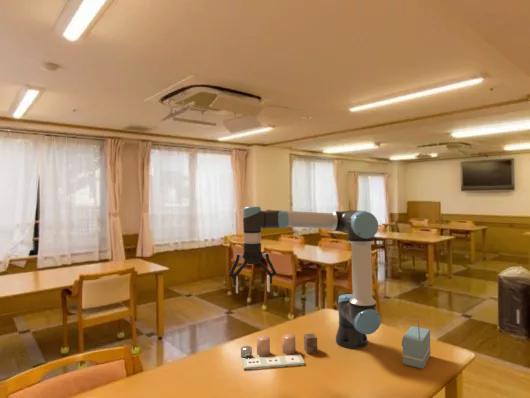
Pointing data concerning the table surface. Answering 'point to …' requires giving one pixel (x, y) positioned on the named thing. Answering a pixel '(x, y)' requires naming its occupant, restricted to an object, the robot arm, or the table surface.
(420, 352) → the radio
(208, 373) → the table surface
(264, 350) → the pink capsule pill
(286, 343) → the peach capsule
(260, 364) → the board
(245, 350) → the tin
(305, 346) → the walnut block
